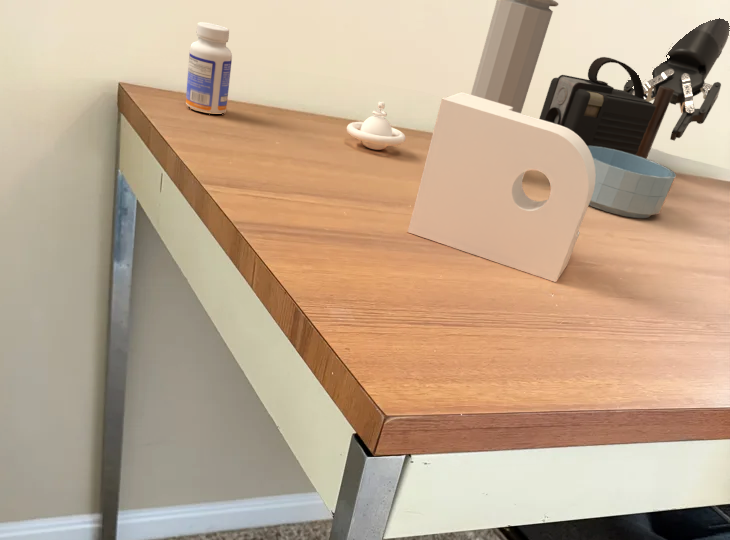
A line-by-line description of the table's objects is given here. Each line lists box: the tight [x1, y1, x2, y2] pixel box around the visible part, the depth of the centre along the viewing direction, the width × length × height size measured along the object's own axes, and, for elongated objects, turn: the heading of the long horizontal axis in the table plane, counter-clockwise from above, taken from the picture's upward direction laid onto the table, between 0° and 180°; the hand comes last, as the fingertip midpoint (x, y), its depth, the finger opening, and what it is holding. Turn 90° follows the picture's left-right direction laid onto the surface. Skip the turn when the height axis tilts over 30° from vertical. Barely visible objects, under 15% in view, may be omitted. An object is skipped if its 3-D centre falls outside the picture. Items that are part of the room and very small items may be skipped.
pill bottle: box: [185, 21, 233, 114], centre depth 106 cm, size 5×5×10 cm
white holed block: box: [407, 91, 596, 283], centre depth 84 cm, size 16×10×13 cm, turn 66°
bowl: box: [588, 145, 677, 219], centre depth 112 cm, size 13×13×6 cm
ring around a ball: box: [346, 101, 406, 151], centre depth 110 cm, size 8×6×8 cm
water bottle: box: [470, 0, 559, 114], centre depth 108 cm, size 9×8×25 cm
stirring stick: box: [636, 86, 674, 159], centre depth 134 cm, size 4×4×12 cm
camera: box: [538, 56, 656, 155], centre depth 122 cm, size 11×14×15 cm
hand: (648, 128), depth 133 cm, fingers open, 7 cm apart
